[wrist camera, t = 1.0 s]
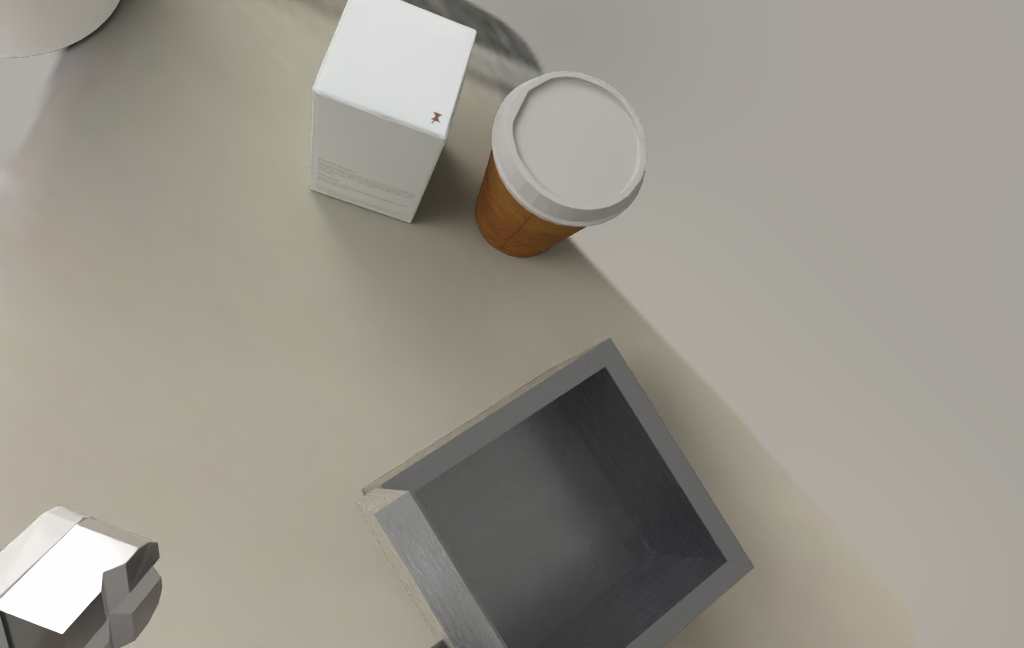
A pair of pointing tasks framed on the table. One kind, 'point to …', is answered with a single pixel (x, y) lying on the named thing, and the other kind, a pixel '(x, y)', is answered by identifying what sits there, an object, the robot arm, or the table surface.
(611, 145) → the disposable coffee cup
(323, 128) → the supplement box
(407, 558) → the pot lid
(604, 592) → the open gray square box
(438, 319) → the table surface
